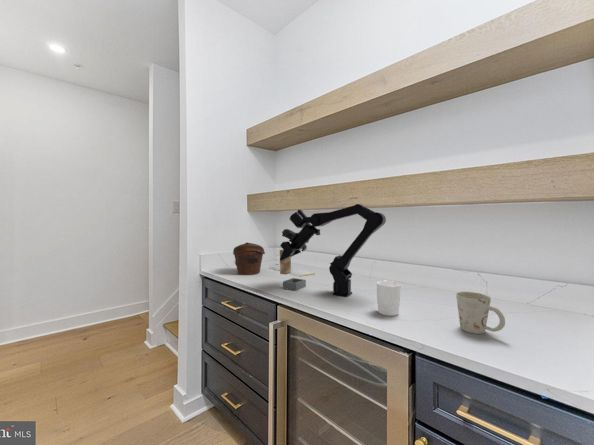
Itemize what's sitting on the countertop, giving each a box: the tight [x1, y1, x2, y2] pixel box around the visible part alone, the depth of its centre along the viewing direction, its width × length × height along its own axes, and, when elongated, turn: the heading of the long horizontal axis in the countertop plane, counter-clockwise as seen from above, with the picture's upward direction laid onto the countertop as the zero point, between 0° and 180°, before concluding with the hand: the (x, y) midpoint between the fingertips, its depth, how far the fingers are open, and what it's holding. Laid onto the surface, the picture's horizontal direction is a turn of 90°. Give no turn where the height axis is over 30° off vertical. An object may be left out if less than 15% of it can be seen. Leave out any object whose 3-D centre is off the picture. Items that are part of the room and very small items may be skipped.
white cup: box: [376, 280, 402, 317], centre depth 94 cm, size 8×8×10 cm
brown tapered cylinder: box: [232, 242, 265, 276], centre depth 161 cm, size 18×20×18 cm
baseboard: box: [270, 263, 316, 278], centre depth 166 cm, size 31×3×12 cm
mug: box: [455, 291, 506, 335], centre depth 78 cm, size 8×13×10 cm, turn 28°
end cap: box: [282, 277, 307, 292], centre depth 127 cm, size 7×9×3 cm
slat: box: [279, 248, 292, 275], centre depth 128 cm, size 3×4×11 cm, turn 149°
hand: (282, 259), depth 129 cm, fingers closed on slat, 5 cm apart
